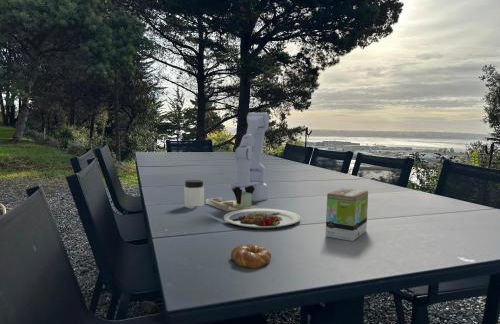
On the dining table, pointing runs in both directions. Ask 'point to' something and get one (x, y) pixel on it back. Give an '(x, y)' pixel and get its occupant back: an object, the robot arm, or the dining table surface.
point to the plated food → (263, 218)
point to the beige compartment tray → (225, 204)
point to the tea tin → (245, 199)
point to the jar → (193, 193)
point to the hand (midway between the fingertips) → (243, 203)
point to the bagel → (250, 256)
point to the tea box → (346, 214)
